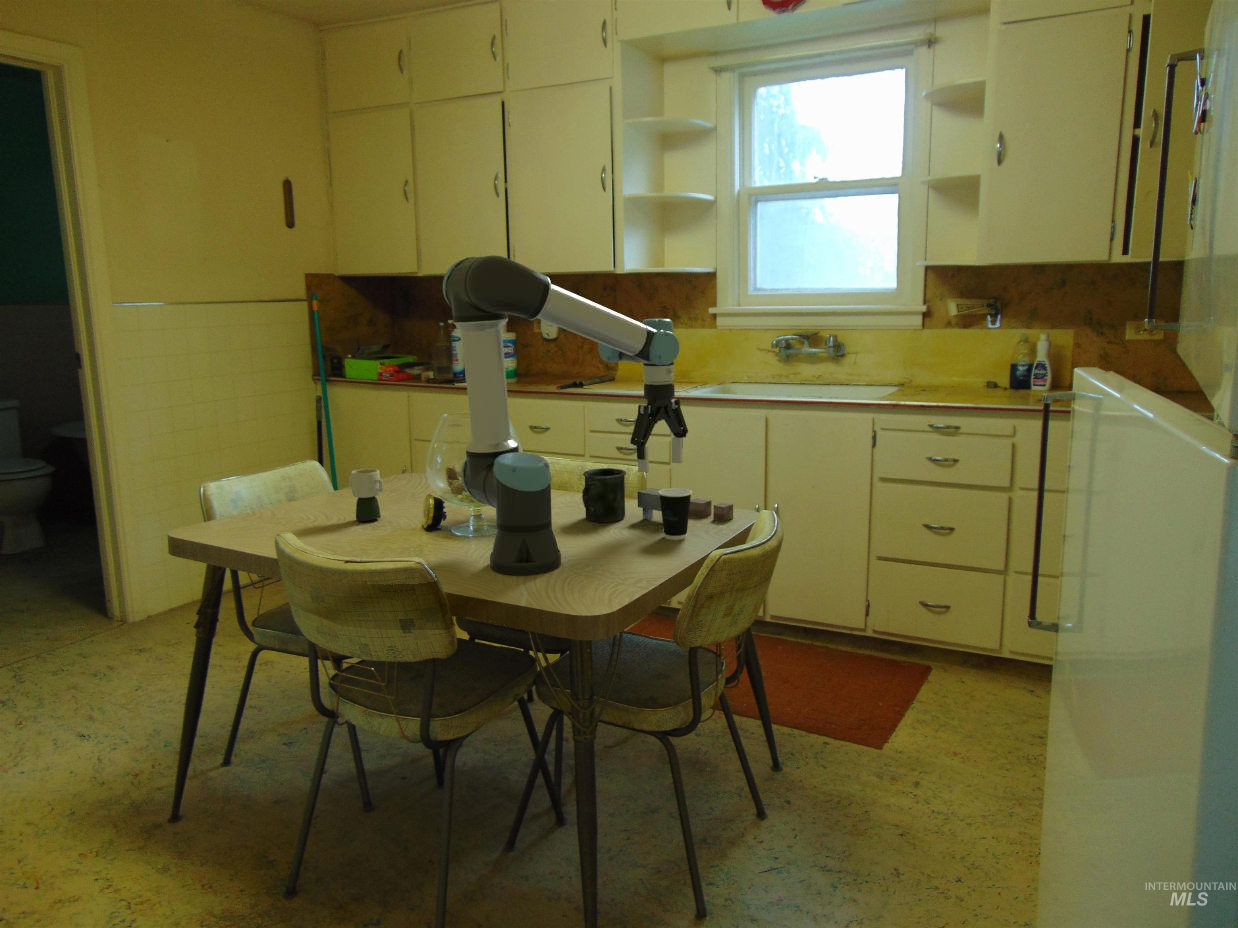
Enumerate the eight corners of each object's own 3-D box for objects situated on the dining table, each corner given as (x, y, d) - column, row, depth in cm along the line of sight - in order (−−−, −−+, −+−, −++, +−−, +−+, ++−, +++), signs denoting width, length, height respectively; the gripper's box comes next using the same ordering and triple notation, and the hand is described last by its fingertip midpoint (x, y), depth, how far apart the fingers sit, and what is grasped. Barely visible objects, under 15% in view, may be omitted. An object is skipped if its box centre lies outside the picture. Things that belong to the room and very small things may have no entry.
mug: (635, 516, 232) (634, 470, 229) (603, 528, 220) (602, 480, 217) (600, 511, 237) (599, 466, 235) (567, 523, 225) (566, 476, 223)
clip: (682, 522, 225) (682, 492, 223) (669, 526, 220) (669, 496, 219) (651, 516, 231) (651, 487, 230) (637, 520, 227) (637, 491, 225)
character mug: (394, 519, 233) (390, 470, 230) (375, 525, 226) (371, 475, 224) (361, 515, 237) (358, 467, 235) (342, 521, 231) (338, 472, 229)
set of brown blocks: (724, 521, 224) (724, 507, 224) (667, 511, 236) (667, 497, 235) (733, 518, 227) (733, 504, 227) (676, 508, 239) (676, 494, 238)
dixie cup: (659, 541, 207) (658, 495, 205) (657, 532, 215) (657, 488, 213) (693, 541, 207) (693, 495, 205) (690, 532, 215) (690, 487, 213)
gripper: (638, 388, 207) (640, 478, 212) (701, 378, 226) (702, 460, 230) (614, 387, 212) (616, 474, 216) (677, 377, 231) (678, 457, 235)
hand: (660, 467), depth 223 cm, fingers open, 13 cm apart
